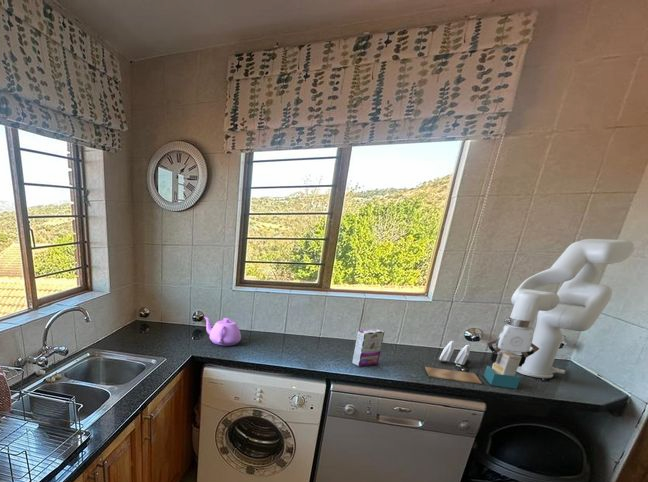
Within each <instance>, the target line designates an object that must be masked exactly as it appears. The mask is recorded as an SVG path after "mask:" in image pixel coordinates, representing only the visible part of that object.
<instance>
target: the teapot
mask: <svg viewBox="0 0 648 482" xmlns="http://www.w3.org/2000/svg"><path fill="white" fill-rule="evenodd" d="M203 318H204V319H205V322H206V325H205V326H206V327H205V329H206V333H207V334H208V335H209V339H210V341H211V342H212V343H213V344H215V345H219V346H227V347H232V346H235V345H237V344H238V343H239V342H241V340H242V334H241V330H240V327H239V326H238V325H237V323H236V321H233V320H231V319H230V318H228V317H224V318H222V320H217V322H215V324H214V325H213V327H212V326H211V319H210V318H209V317H207V316H203Z"/></svg>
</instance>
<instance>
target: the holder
mask: <svg viewBox="0 0 648 482" xmlns="http://www.w3.org/2000/svg"><path fill="white" fill-rule="evenodd" d="M492 366H493V365H486V368H485V370H484V373H483V377H484V378H485V380H486V381H487V382H488V383H489V385H491V386H494V387H495V386H496V387H501V388H509V389H518V386H519V384H520V381H521V376H520V375H519V374H518V372H516V374H515V376H509V375H502V374H496V373H495V372H494V371H493V370H492Z"/></svg>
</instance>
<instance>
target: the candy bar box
mask: <svg viewBox="0 0 648 482" xmlns="http://www.w3.org/2000/svg"><path fill="white" fill-rule="evenodd" d="M356 334H357V335H356V340H355V344H354V345H355V346H354V351H353V356H352V362H351V364H352V365H355V366H357V367H366V366H375V365H378V364H379V360H380V356H381V350H382V346H383V341H384V337H385V331H384V330H381V329H379V328H377V329H364V330H358V331H357V333H356Z"/></svg>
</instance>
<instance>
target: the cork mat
mask: <svg viewBox="0 0 648 482" xmlns="http://www.w3.org/2000/svg"><path fill="white" fill-rule="evenodd" d="M424 369H425V371H426V374H427V376H428V377H429V378H436V379H441V380H448V381H449V380H450V381H456V382H464V383H470V384H477V385H483V383H482V381H481V380H480V379H479V377H478V376H477V375H476V373H474V372H469V371H468V372H467V371H460V370H454V369H445V368H437V367H431V366H424Z"/></svg>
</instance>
